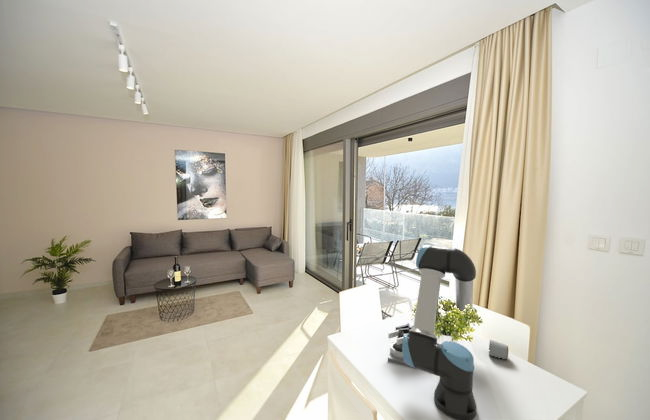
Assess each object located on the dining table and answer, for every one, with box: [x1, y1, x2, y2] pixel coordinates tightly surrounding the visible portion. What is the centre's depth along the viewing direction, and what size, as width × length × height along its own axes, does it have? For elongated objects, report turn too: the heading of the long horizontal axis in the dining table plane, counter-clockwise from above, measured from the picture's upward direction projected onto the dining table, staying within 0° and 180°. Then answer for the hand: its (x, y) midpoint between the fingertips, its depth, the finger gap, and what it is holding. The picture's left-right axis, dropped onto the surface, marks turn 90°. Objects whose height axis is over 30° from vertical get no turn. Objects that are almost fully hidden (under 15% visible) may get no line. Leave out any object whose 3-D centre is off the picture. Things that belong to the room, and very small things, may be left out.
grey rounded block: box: [488, 339, 509, 360], centre depth 138 cm, size 11×8×8 cm
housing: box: [387, 341, 413, 368], centre depth 135 cm, size 15×20×4 cm
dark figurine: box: [394, 330, 405, 352], centre depth 137 cm, size 6×6×12 cm
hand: (393, 338), depth 134 cm, fingers open, 5 cm apart
